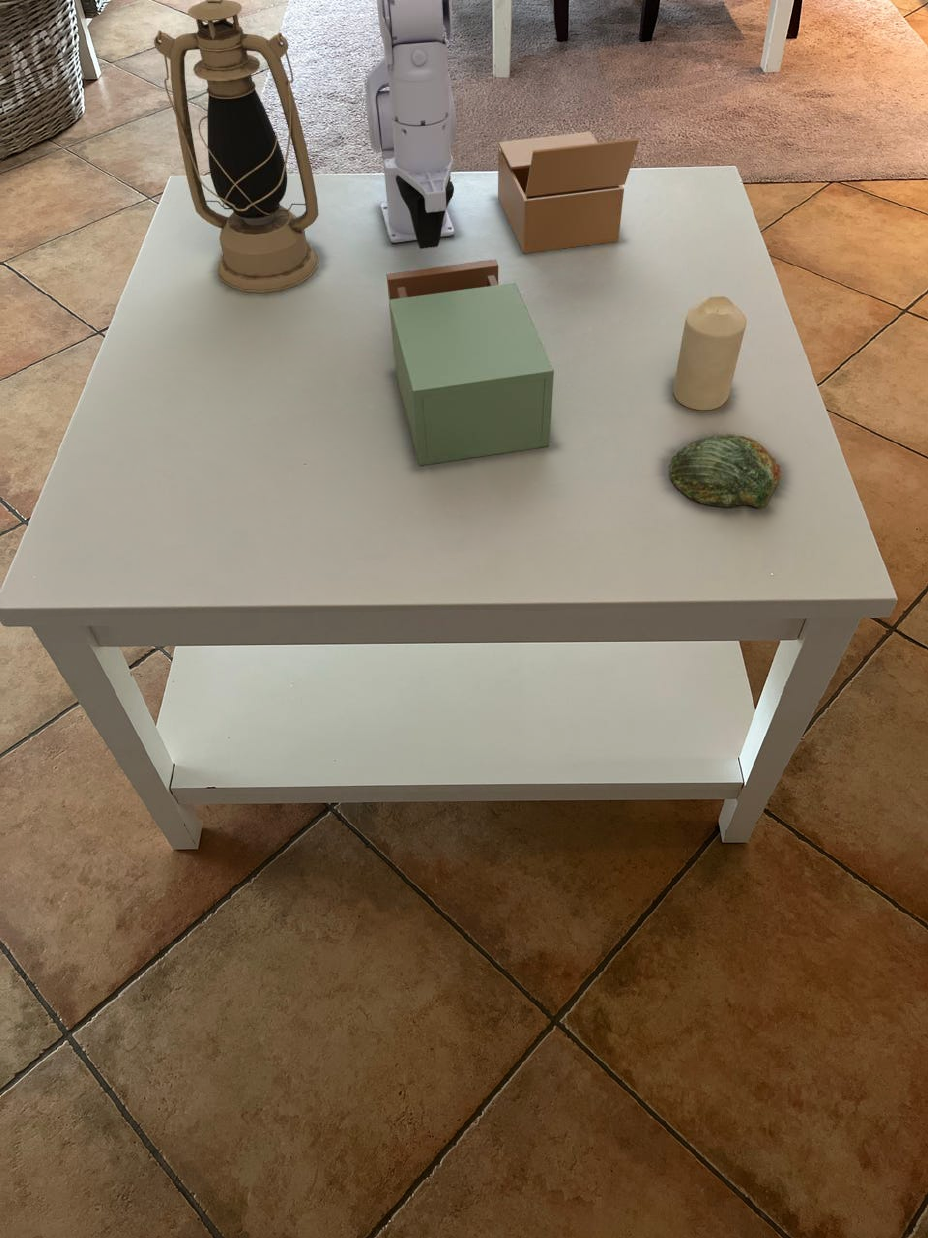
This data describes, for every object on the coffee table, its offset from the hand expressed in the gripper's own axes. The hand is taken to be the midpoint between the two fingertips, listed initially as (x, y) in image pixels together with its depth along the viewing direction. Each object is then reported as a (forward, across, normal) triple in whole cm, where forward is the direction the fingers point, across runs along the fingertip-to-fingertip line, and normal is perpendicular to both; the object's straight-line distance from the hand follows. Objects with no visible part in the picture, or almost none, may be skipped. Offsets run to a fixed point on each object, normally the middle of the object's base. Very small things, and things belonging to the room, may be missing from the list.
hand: (428, 244), depth 100 cm
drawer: (+5, +13, 0) cm, 14 cm away
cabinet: (+6, +22, 0) cm, 23 cm away
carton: (+5, -12, +18) cm, 22 cm away
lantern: (+6, -10, -18) cm, 21 cm away
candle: (+6, +25, +23) cm, 35 cm away
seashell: (+6, +37, +21) cm, 43 cm away
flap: (-5, -4, +18) cm, 19 cm away
